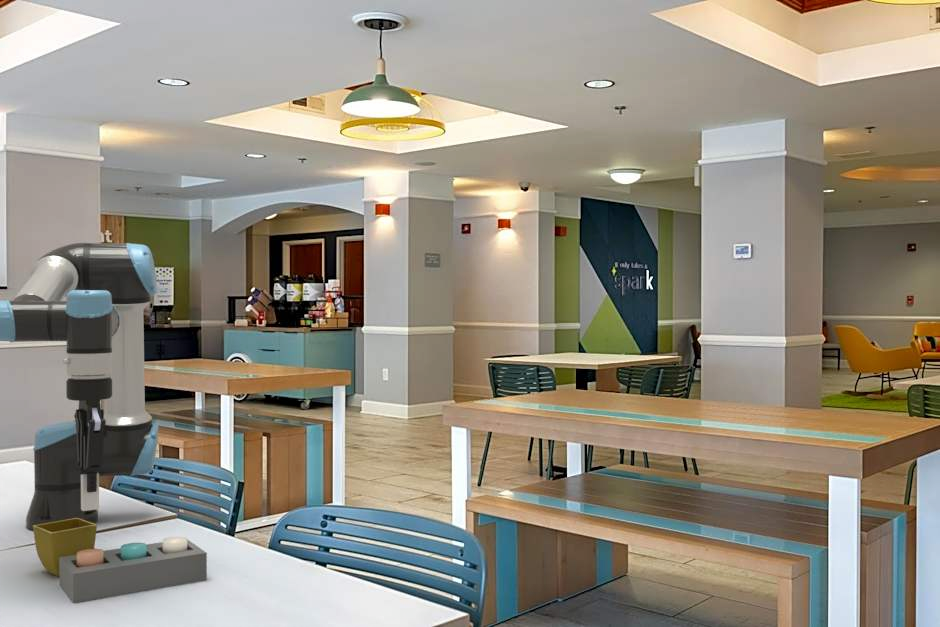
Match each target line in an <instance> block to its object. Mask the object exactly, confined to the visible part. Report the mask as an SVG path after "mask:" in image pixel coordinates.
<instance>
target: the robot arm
mask: <svg viewBox="0 0 940 627" xmlns="http://www.w3.org/2000/svg"><path fill="white" fill-rule="evenodd" d="M29 276H30V278H29V279H28V280H27V282H25V284H24V286H22V288H21V289H20V291H19V292H18V293H17V294H16V295H15V296H14V298H13V299H12V300H9V299H5V300H0V342H6V343H7V342H9V343H23V342H24V343H25V342H29V343H31V342H36V343H37V342H66V358H64V359H63V360H62V363H63V365H66V375H67V376H69V378H67V380H66V381H65V382H66V392H65V393H66V394H65V395H66V399H68V400H69V401H76V402H78V409H75V413H74V414H73V416H74V420H70V421H69V420H68V421H64V422H58V423H53V424H50V425H49V424H48V425H45V426H43V427H41V428H39V429H38V430H36V432H35V434H34V447H33V451H34V452H33V453H34V454H33V455H34V456H33V457H34V458H33V460H34V463H33V464H34V466H33V467H34V469H33V470H34V492H33V496H32V499H31V501H30V505H29V509H28V510H27V513H26V517H25V518H26V519H25V525H26V526H25V527H26V529H27V530H30V531H31V530H32V531H33V525H39V524H45V523H50V522H56V521H62V520H67V519H73V518H80V519H83V520H85V521H88V522H91V523H94V524H96V523H98V521H99V510H100V477H118V476H119V477H123V476H130V477H133V476H139V475H147V474H148V473H150V472H152V470H153V468H154V464H155V459H156V453H157V447H158V446H157V444H158V438H159V427H160V426H159V425H158V424H156V423H153V421H152V420H153V417H152V415H151V414H150V413H148V411H146V403H145V402H146V400H145V396H146V394H145V393H146V392H145V389H146V388H145V384H146V383H145V341H144V340H145V335H144V334H145V332H144V330H145V328H144V325H145V324H144V323H145V321H144V319H145V318H144V310H145V308H146V307H148V306H149V304H151V296H154V295H157V292H158V286H157V275H156V267H155V262H154V258H153V254H152V251H151V249H150V247H149V246H147V245H145V244H139V243H129V242H124V243H122V242H119V243H118V242H115V243H114V242H113V243H111V242H107V243H101V242H97V243H95V242H93V243H87V242H75V243H70V244H67V245H63V246H60V247H58V248H54V249H52V250H51V251H48V252H46V253H45V254H44V255H42V256H41V257H40V258H38V259H37V260H36V262H35V263H34V264H33V266H32V268H31V270H30V274H29ZM65 297H66V300H64V299H65ZM102 400H105V402H104V405H105V412H104V409H102V408H101V401H102Z"/></svg>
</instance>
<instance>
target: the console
mask: <svg viewBox="0 0 940 627" xmlns="http://www.w3.org/2000/svg"><path fill="white" fill-rule="evenodd" d="M207 554H208V553H207V552H206V551H205V550H204V549H202V548H201V547H199V546H197V545H196V544H195V543H193V542H192V541H190V539H188V538H187V551H182V552H175V553H169V554H163V541H160V542H154V543H148V544H147V543H146V557H143V558H137V559H130V560H124V561H121V547H120V548H114V549H107V550H106V549H105V550H103V559H104V564H98V565H91V566H85V567H79V568H77V555H72V556H65V557H59V576H58V577H59V578H58V580H59V581H58V582H59V586H60V588H61V589H62V590H63V591H64V593H65V594H66V595H67V597H68V598H69V599H70V600H71V602H72V603H73V604H77V603H82V602H86V601H87V602H88V601H93V600H99V599H104V598H110V597H111V598H112V597H116V596H120V595H121V596H122V595H128V594H132V593H133V594H134V593H139V592H143V591H149V590H156V589H162V588H168V587H173V586H178V585H184V584H189V583H196V582H202V581H207V578H208V576H207V574H208V573H207V572H208V571H207V568H208V567H207V563H208V562H207V561H208V560H207V559H208V555H207Z"/></svg>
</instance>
